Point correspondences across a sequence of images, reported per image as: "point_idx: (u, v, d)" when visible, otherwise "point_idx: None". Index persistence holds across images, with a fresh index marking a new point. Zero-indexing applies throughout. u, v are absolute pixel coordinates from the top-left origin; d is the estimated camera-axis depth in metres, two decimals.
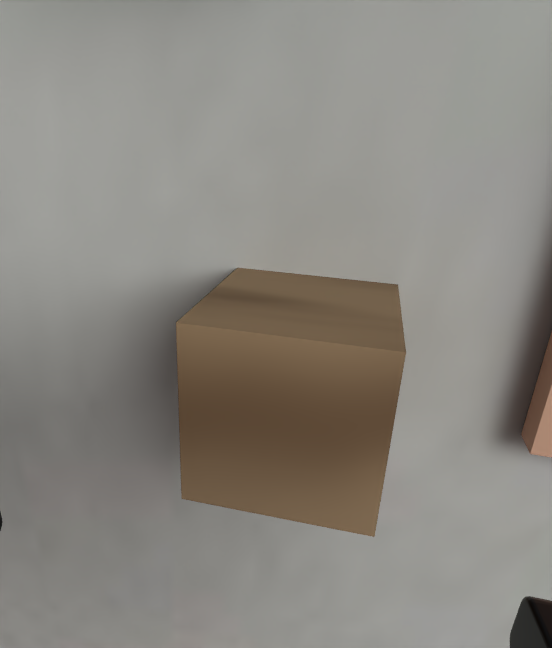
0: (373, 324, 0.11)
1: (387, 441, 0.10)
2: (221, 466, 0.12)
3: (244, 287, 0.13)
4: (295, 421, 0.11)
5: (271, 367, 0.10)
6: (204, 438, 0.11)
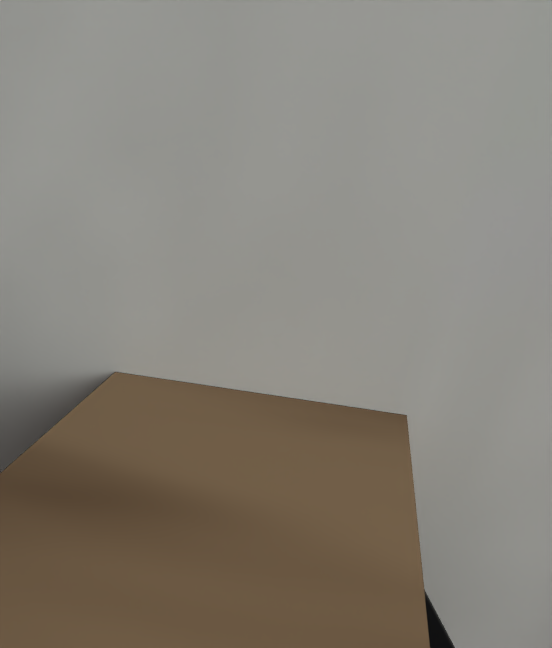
0: (350, 622, 0.04)
1: None
2: None
3: (90, 445, 0.06)
4: None
5: None
6: None
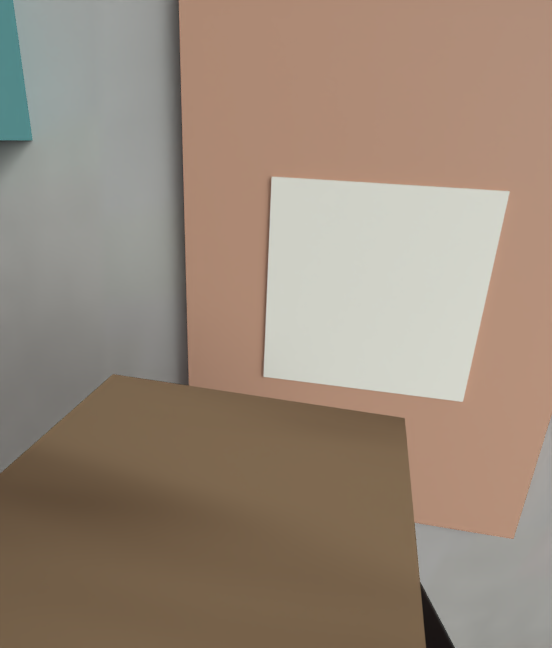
0: (346, 628, 0.04)
1: None
2: None
3: (87, 448, 0.06)
4: None
5: None
6: None
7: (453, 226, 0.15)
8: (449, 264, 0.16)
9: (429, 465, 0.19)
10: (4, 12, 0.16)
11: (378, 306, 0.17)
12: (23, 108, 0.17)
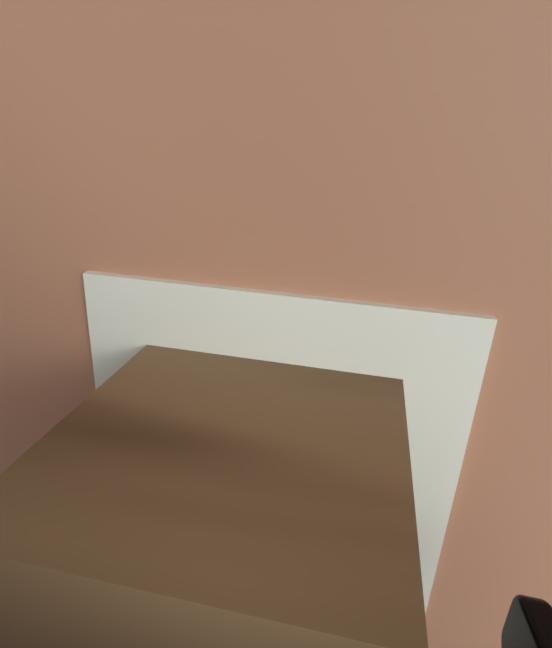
0: (356, 520, 0.05)
1: None
2: None
3: (134, 400, 0.07)
4: None
5: (131, 640, 0.05)
6: None
7: (396, 371, 0.08)
8: None
9: None
10: None
11: None
12: None
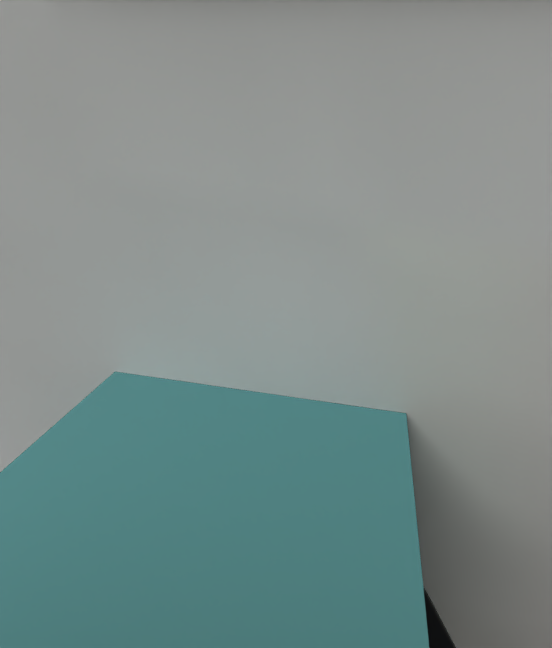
0: None
1: None
2: None
3: None
4: None
5: None
6: None
7: None
8: None
9: None
10: (145, 396, 0.07)
11: None
12: (333, 414, 0.07)
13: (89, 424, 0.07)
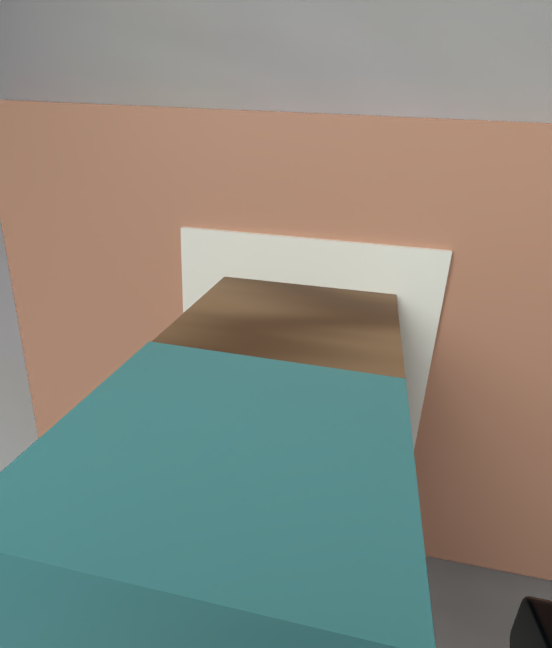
0: None
1: None
2: None
3: None
4: None
5: None
6: None
7: None
8: None
9: None
10: (179, 361, 0.09)
11: None
12: (343, 378, 0.08)
13: (133, 381, 0.08)
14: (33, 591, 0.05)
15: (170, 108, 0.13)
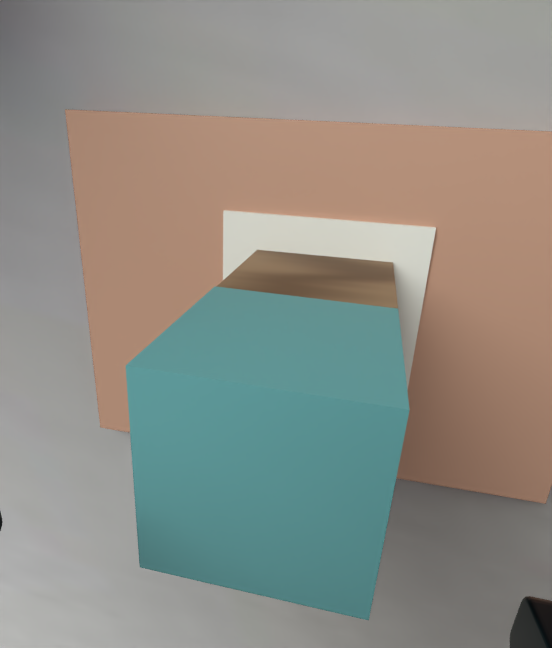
0: None
1: None
2: None
3: None
4: None
5: None
6: None
7: None
8: None
9: (527, 254, 0.16)
10: (239, 297, 0.12)
11: None
12: (354, 307, 0.12)
13: (212, 306, 0.11)
14: (184, 397, 0.08)
15: (218, 117, 0.16)
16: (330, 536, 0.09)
